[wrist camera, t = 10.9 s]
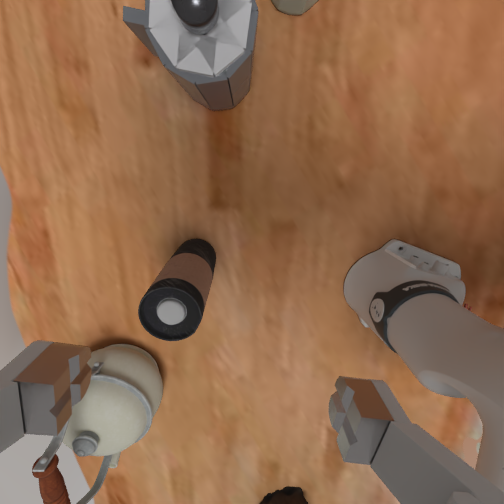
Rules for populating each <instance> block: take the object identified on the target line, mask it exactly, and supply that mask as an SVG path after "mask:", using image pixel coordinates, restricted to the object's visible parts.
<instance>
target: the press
mask: <svg viewBox="0 0 504 504" xmlns="http://www.w3.org/2000/svg"><path fill="white" fill-rule="evenodd" d="M218 3H219V17H218V21H217V23H216V25H215V26H214V28H213V29H212V30H211V31H209V32H208V33H207V34H206V35H198V34H194V33H191V32H189V31H188V30H187V29H186V28H185V27H184V26H183V25H182V23H181V22H180V20H179V18H178V15H177V13H176V11H175V9H174V7H173V5H172V2H171V0H145V11H144V10H140V9H135V8H131V7H126V6H123V21H124V22H125V23H126V25H127V26H128V27H129V28H130V29H131V30H132V31H133V32H134V34H135V35H136V36H137V37H138V38H139V39H140V40H141V41H142V43H143V44H144V45H145V46H146V47H147V48H148V49H149V51H150V52H151V53H152V54H153V55H154V56H157V57H159V58H160V60H161V62H162V64H163V66H164V67H165V68H166V69H167V70H168V71H169V72H170V74H171V75H172V76H173V77H174V78H175V79H176V80H177V82H178V83H179V84H180V85H181V86H182V87H183V88H184V90H185V91H186V92H187V93H188V94H189V95H190V96H191V97H192V99H193V100H194V101H196V102H198V103H200V104H201V105H203V106H205V107H207V108H208V109H210V110H212V111H217V110H218V111H219V110H227V109H230V108H233V107H235V106H236V105H237V104H238V103H239V102H240V101H241V100H242V99H243V98H244V96H245V95H246V94H247V93H248V92H249V89H250V82H251V76H252V69H253V60H254V50H255V40H256V30H257V21H258V7H257V5H256V2H255V0H218Z"/></svg>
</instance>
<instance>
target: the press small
mask: <svg viewBox="0 0 504 504" xmlns="http://www.w3.org/2000/svg"><path fill="white" fill-rule="evenodd" d="M271 1H272V3H273V4H274V5H275V7H276V8H277V9H278V10H280V11H281V12H283V13H285V14H288V15H299V14H300V15H301V14H302V13H304V12H306V11H307V10H309V9H310V8H311V7H312V6H313V5H314V4H315V3H316V2H317V1H318V0H271Z"/></svg>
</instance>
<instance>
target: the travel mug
mask: <svg viewBox="0 0 504 504" xmlns="http://www.w3.org/2000/svg"><path fill="white" fill-rule="evenodd" d="M215 262H216V254H215V251H214V249H213V247H212V246H211V245H210V244H209V243H207V242H206V241H204V240H201V239H191V240H188V241H186V242H185V243H183V244H182V245H181V246H180V247H179V249H178V250H177V251H176V252H175V253H174V255H173V256H172V257H171V258H170V259H169V261H168V262H167V263H166V265H165V266H164V268H163V269H162V271H161V272H160V273H159V275H158V276H157V278H156V279H155V281H154V282H153V284H152V285H151V286H150V288H149V289H148V291H147V292H146V294H145V295H144V297H143V298H142V300H141V302H140V305H139V309H138V314H139V319H140V322H141V324H142V325H143V327H144V328H145V329H146V331H148V332H149V333H150V334H151V335H153V336H155V337H156V338H159V339H162V340H166V341H178V340H182V339H185V338H187V337H189V336H191V335H192V334H194V333H195V331H196V329H197V328H198V326H199V324H200V322H201V319H202V316H203V312H204V309H205V305H206V301H207V298H208V294H209V290H210V287H211V283H212V279H213V273H214V268H215Z"/></svg>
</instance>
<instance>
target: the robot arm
mask: <svg viewBox="0 0 504 504" xmlns="http://www.w3.org/2000/svg"><path fill="white" fill-rule="evenodd" d="M399 247H401V249H400V250H399ZM460 279H461V270H460V266H459V265H458V264H457V263H455V262H453V261H451V260H448V259H446V258H443V257H441V256H438V255H436V254H433V253H430V252H428V251H425V250H423V249H420V248H418V247H415V246H413V245H410V244H407V243H405V242H402V241H400V240H397V239H393V240H390V241H389V242H388V243H386V244H385V245H384V246H383V247H382V248H381V249H379V250H377V251H375V252H373V253H370V254H368V255H366V256H364V257H363V258H361V259H360V260H359V261H357V262H356V263H355V264H354V265H353V267H352V268H351V269H350V271H349V272H348V274H347V276H346V279H345V282H344V296H345V299H346V301H347V303H348V304H349V306H350V307H351V308H352V309H353V310H354V311H355V312H356V313H357V314H358V317H359V319H360V322H361V323H362V324H363V325H364V326H365V327H370V328H371V329H372V330H373V331H374V333H375V334H376V335H377V336H378V337H379V338H380V339H381V340H383V341H384V343H385V344H386V345H387V346H388V347H389V348H390V349H391V350H393V351H394V352H395V353H397V354H398V355H399V356H400V357H401V359H402V360H403V361H404V363H405V364H406V365H407V366H408V368H409V369H410V370H411V371H412V373H413V374H414V375H415V377H416V378H417V379H418V380H419V382H420V383H421V384H422V385H423V386H424V387H426V388H427V389H429V390H430V391H432V392H435V393H437V394H441V395H444V396H449V397H455V398H466V397H467V398H468V399H469V400H470V402H471V403H472V404H473V405H474V407H475V408H476V410H477V412H478V414H479V416H480V419H481V421H482V424H483V434H482V439H481V444H480V449H479V454H478V459H477V464H476V468H475V470H474V469H473V468H472V467H470V466H469V465H468V464H467V463H465V462H464V461H463V460H462V459H460V458H459V457H458V456H457V455H455V454H454V453H453V452H451V451H450V450H449V449H448V448H446V447H445V446H444V445H443V444H441V443H440V442H439V441H437V440H436V439H435V438H434V437H432V436H431V435H430V434H429V433H427V432H426V431H425V430H423V429H422V428H421V427H420V426H418V425H417V424H412V423H411V421H410V420H409V418H408V417H407V415H406V414H405V412H404V410H403V409H402V407H401V406H400V404H399V403H398V401H397V399H396V398H395V396H394V395H393V393H392V391H391V390H390V388H389V387H388V385H387V384H386V383H385V382H384V381H383V380H373V379H361V378H352V377H342V376H339V378H338V379H337V381H336V383H335V387H336V389H337V391H336V392H335V393H334V394H332V395H331V398H330V402H329V417H330V421H331V425H332V427H333V428H334V429H335V430H336V431H337V432H338V433H339V435H338V437H337V443H338V446H339V449H340V452H341V455H342V458H343V461H344V462H350V463H358V464H366V465H371V466H370V467H371V468H372V469H373V470H374V472H375V473H376V474H377V475H378V476H379V478H380V479H381V480H382V481H383V483H384V484H385V485H386V486H387V487H388V489H389V490H390V491H391V492H392V494H393V495H394V496H395V497H396V498H397V500H398V501H399V502H400V503H401V504H504V328H502V327H498V326H495V325H493V324H491V323H489V322H487V321H485V320H484V319H482V318H480V317H479V316H477V315H475V314H474V313H472V312H471V309H472V307H470V308H469V309H467V307H468V304H465V305H464V307H463V306H462V305H463V302H464V298H465V294H466V288H465V284H464V282H463V281H461V280H460ZM90 358H91V349H90V348H89V347H87V346H80V345H73V344H66V343H59V342H49V341H42V340H37V341H35V342H33V343H31V344H30V345H29V346H28V347H27V348H26V349H25V350H24V351H22V352H21V353H20V354H19V355H18V356H17V357H15V358H14V359H13V360H12V361H11V362H10V363H9V364H7V366H5V367H4V368H3V369H2V370H1V371H0V453H1V452H2V451H3V450H5V449H6V448H8V447H9V446H11V445H12V444H13V443H15V442H16V441H18V440H19V439H20V438H22V437H23V436H24V434H36V435H53V436H58V434H59V433H60V431H61V430H62V428H63V427H64V425H65V424H66V422H67V421H68V420H69V418H70V417H71V415H72V406H74V405H75V404H77V403H78V402H80V401H81V400H82V398H83V397H84V395H85V394H86V392H87V389H88V387H89V384H90V381H91V375H92V372H91V368H90V366H89V365H88V364H87V362H88V361H89V360H90Z"/></svg>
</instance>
